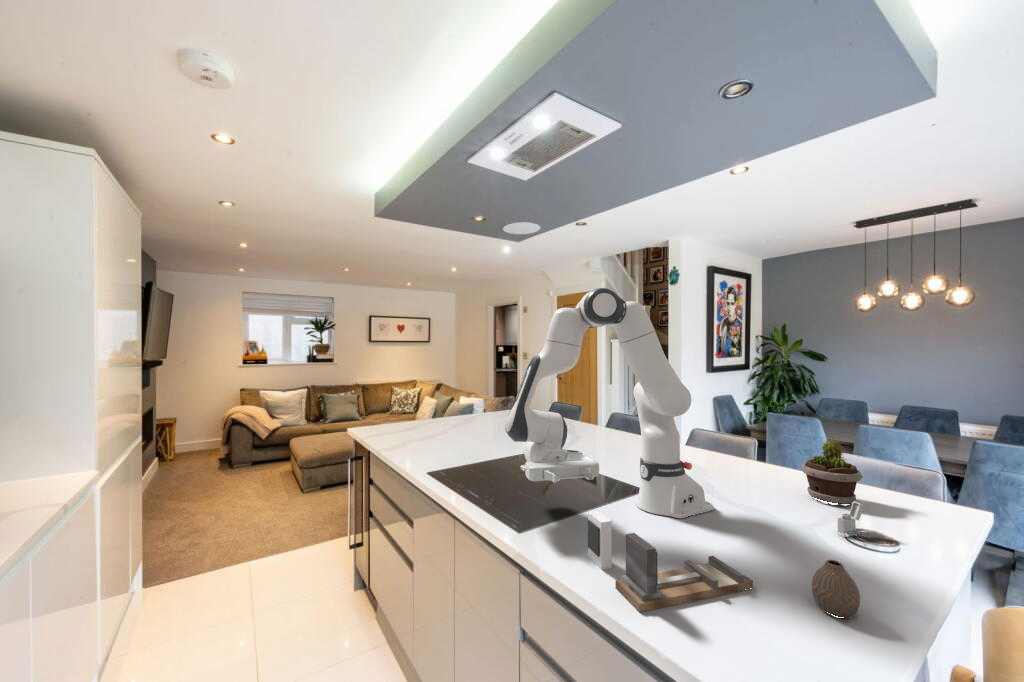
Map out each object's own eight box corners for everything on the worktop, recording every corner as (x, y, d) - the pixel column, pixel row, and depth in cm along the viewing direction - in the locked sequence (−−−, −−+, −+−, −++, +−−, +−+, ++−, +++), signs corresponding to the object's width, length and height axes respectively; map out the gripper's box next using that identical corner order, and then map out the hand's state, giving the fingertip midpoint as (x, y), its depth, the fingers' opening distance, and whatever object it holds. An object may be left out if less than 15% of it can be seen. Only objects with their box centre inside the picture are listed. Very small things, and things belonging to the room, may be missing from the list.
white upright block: (598, 554, 95) (597, 511, 95) (611, 568, 89) (611, 521, 89) (586, 556, 94) (586, 512, 94) (599, 570, 88) (599, 522, 88)
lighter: (844, 537, 104) (843, 505, 104) (837, 534, 105) (836, 503, 106) (864, 534, 106) (863, 502, 106) (857, 531, 108) (856, 500, 108)
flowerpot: (856, 514, 119) (854, 444, 120) (795, 499, 131) (793, 436, 132) (868, 502, 128) (866, 438, 129) (809, 490, 140) (808, 431, 141)
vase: (802, 601, 77) (801, 554, 77) (836, 599, 78) (835, 552, 78) (834, 625, 70) (833, 573, 70) (871, 623, 71) (870, 572, 71)
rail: (721, 568, 89) (721, 519, 89) (753, 588, 81) (752, 534, 81) (615, 588, 81) (615, 534, 82) (639, 612, 74) (638, 552, 74)
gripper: (518, 454, 114) (535, 467, 100) (585, 450, 120) (609, 463, 106) (517, 477, 113) (535, 493, 100) (584, 472, 119) (609, 487, 106)
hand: (574, 477), depth 103 cm, fingers open, 8 cm apart
